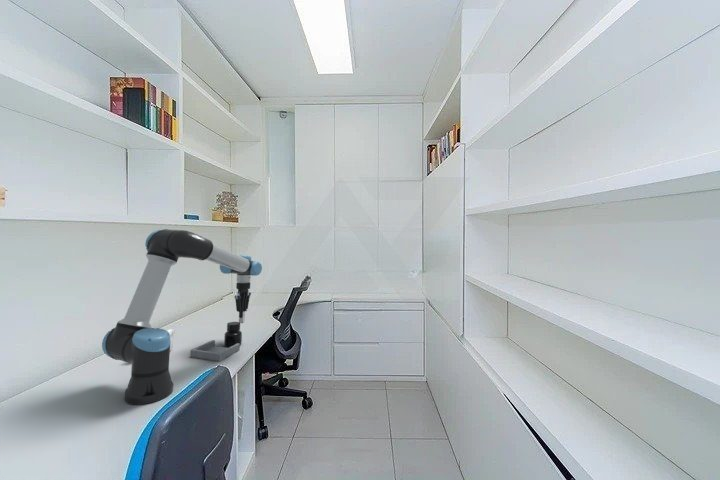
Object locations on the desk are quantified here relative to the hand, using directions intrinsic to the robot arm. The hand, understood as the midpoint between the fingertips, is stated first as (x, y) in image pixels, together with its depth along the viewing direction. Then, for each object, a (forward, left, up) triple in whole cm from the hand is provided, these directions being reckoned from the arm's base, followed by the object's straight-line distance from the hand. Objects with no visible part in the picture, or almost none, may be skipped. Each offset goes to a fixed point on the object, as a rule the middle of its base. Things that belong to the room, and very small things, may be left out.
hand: (241, 322), depth 178 cm
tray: (-21, 0, -10) cm, 24 cm away
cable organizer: (-33, +24, -11) cm, 43 cm away
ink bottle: (-7, 0, -11) cm, 13 cm away
